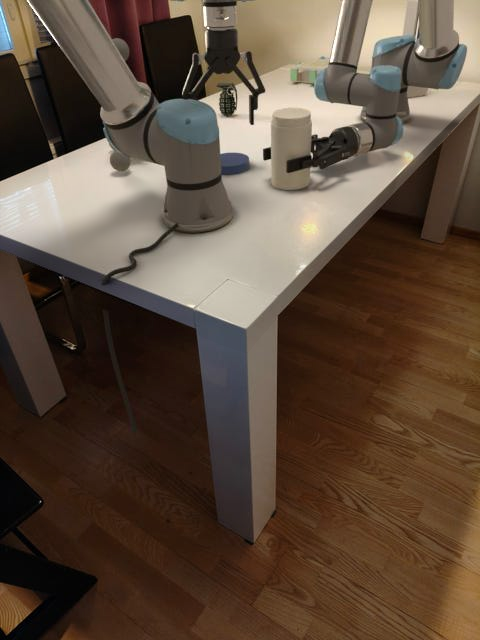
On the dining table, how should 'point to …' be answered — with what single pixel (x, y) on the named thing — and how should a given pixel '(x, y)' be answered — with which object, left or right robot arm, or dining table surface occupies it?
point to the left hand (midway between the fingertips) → (225, 125)
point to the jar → (290, 146)
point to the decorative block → (309, 70)
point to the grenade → (227, 99)
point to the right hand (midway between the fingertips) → (275, 160)
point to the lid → (234, 163)
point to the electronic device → (410, 29)
